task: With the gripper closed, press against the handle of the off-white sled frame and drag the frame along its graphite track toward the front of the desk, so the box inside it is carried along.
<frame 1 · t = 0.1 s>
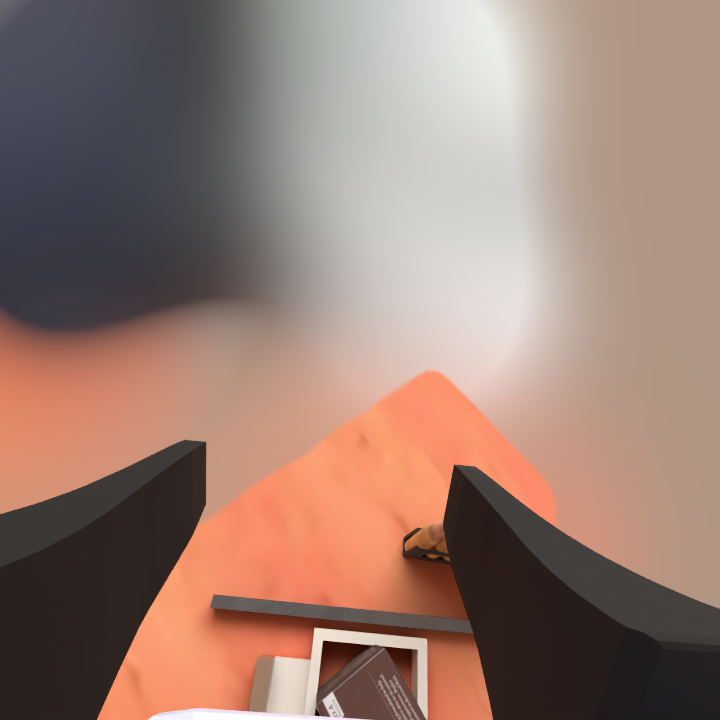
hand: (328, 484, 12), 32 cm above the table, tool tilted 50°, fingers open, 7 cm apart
track: (340, 699, 34), on the table
ammunition clip: (454, 555, 41), on the table
sled: (339, 703, 32), point 2 cm above the table, slide at 0.0 cm, touching box
box: (363, 701, 34), resting in sled
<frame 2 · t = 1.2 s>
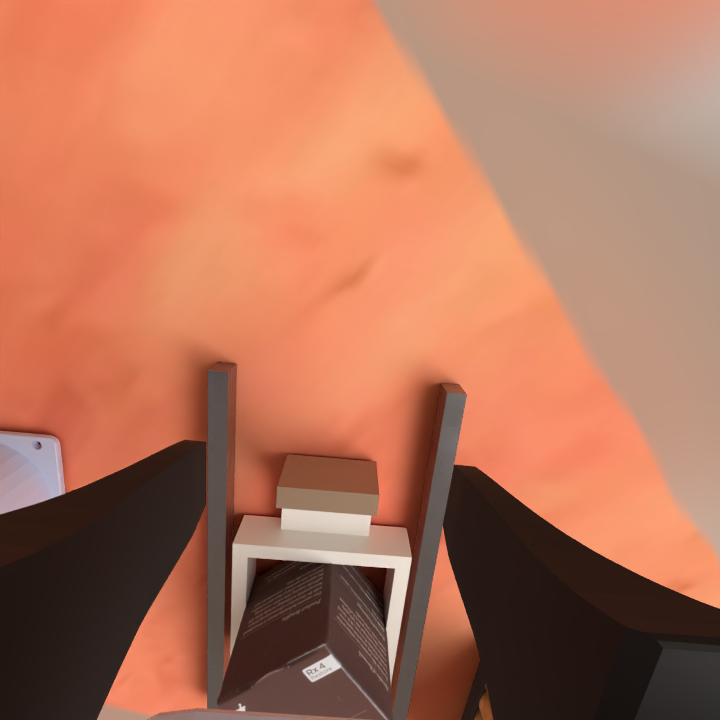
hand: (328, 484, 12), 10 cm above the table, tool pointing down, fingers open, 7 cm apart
track: (322, 558, 25), on the table
ammunition clip: (481, 690, 28), on the table
sled: (320, 579, 23), point 2 cm above the table, slide at -0.1 cm, touching box
box: (320, 584, 26), resting in sled
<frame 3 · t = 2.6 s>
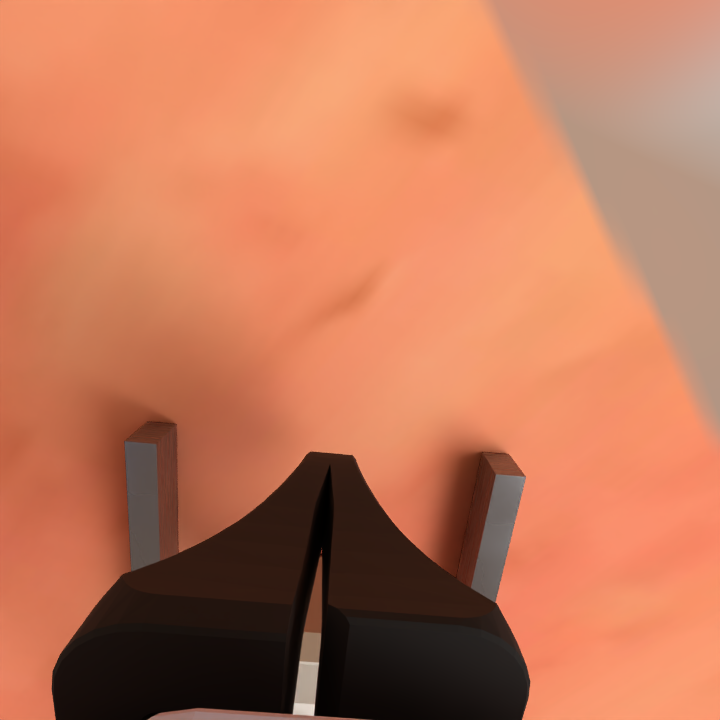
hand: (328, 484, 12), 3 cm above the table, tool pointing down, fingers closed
track: (307, 686, 18), on the table
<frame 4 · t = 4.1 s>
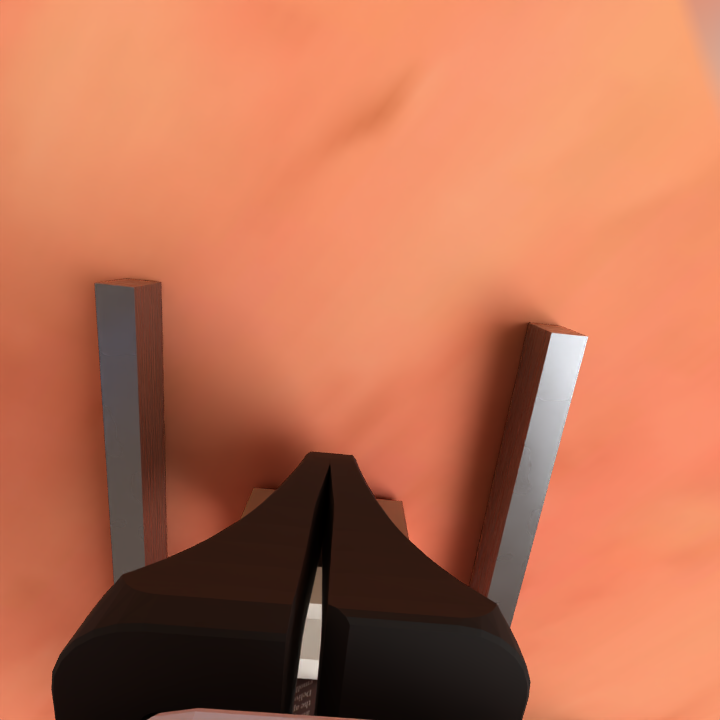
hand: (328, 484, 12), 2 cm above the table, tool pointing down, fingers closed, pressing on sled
track: (315, 619, 15), on the table
sled: (307, 696, 14), point 2 cm above the table, slide at 1.5 cm, touching box, gripper
box: (308, 686, 16), resting in sled
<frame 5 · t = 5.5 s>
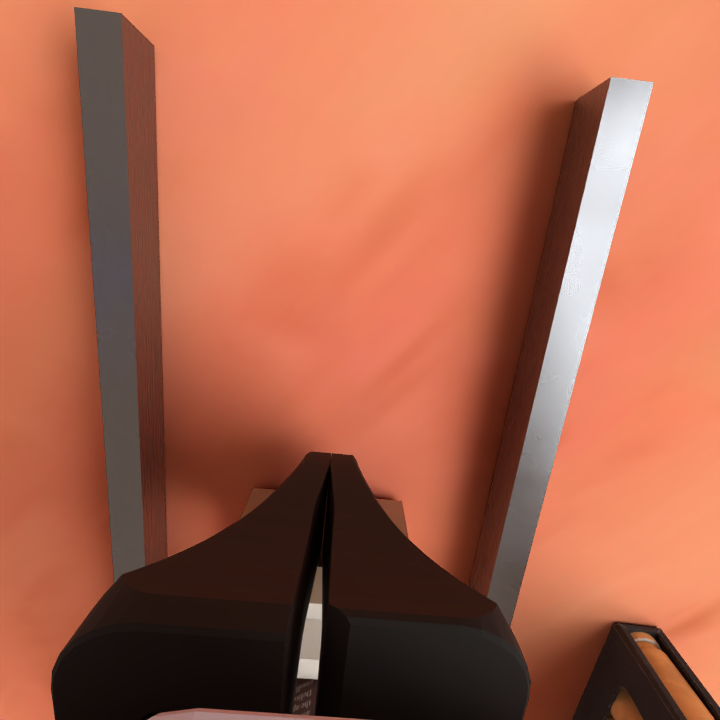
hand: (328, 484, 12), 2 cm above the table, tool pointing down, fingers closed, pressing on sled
track: (329, 480, 14), on the table
ammunition clip: (590, 716, 17), on the table
sled: (307, 696, 14), point 2 cm above the table, slide at 7.4 cm, touching box, gripper
box: (308, 686, 16), resting in sled
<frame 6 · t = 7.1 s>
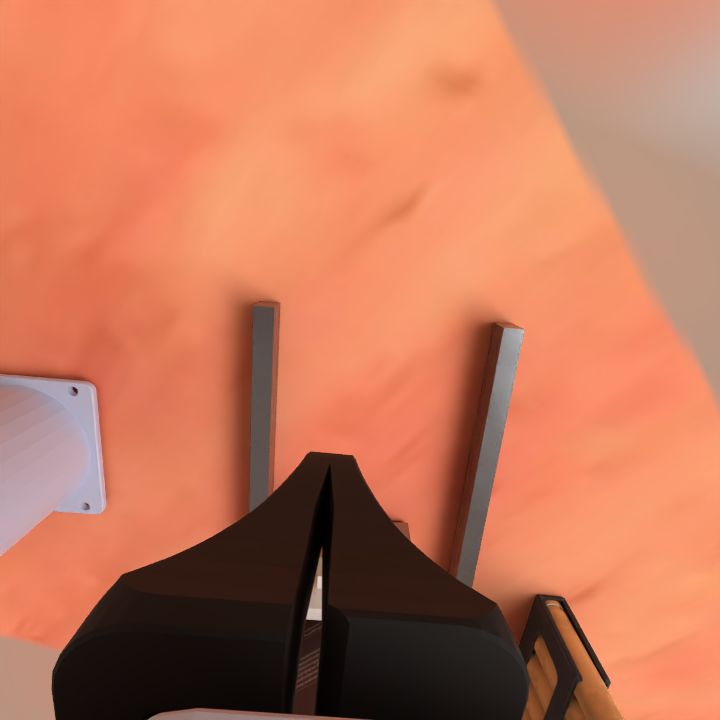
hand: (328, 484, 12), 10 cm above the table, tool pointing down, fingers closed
track: (365, 513, 24), on the table
ammunition clip: (527, 655, 27), on the table
sled: (354, 635, 24), point 2 cm above the table, slide at 7.3 cm, touching box
box: (352, 635, 27), resting in sled
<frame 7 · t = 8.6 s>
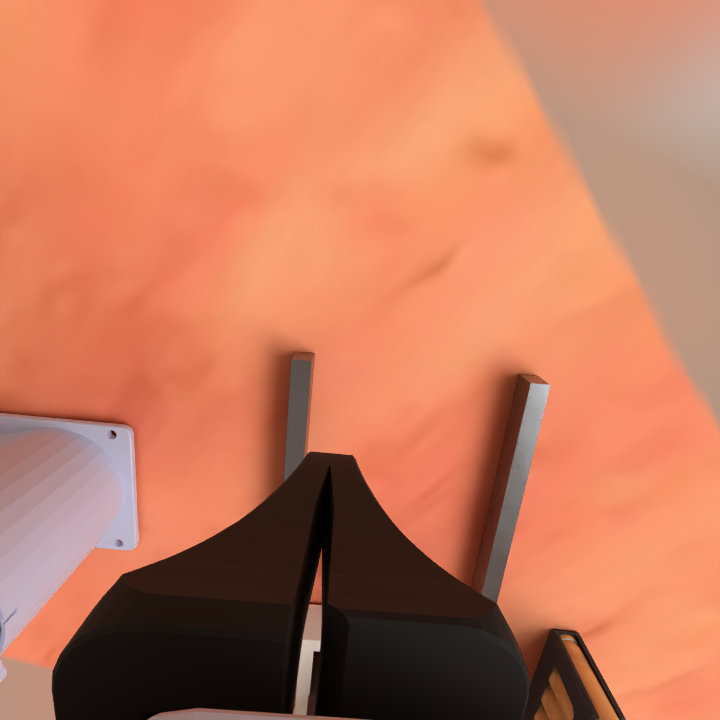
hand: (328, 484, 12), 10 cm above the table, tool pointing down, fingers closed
track: (389, 551, 25), on the table
ammunition clip: (540, 685, 28), on the table
sled: (377, 667, 25), point 2 cm above the table, slide at 7.1 cm, touching box
box: (372, 663, 27), resting in sled
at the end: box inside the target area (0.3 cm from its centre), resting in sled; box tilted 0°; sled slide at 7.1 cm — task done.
